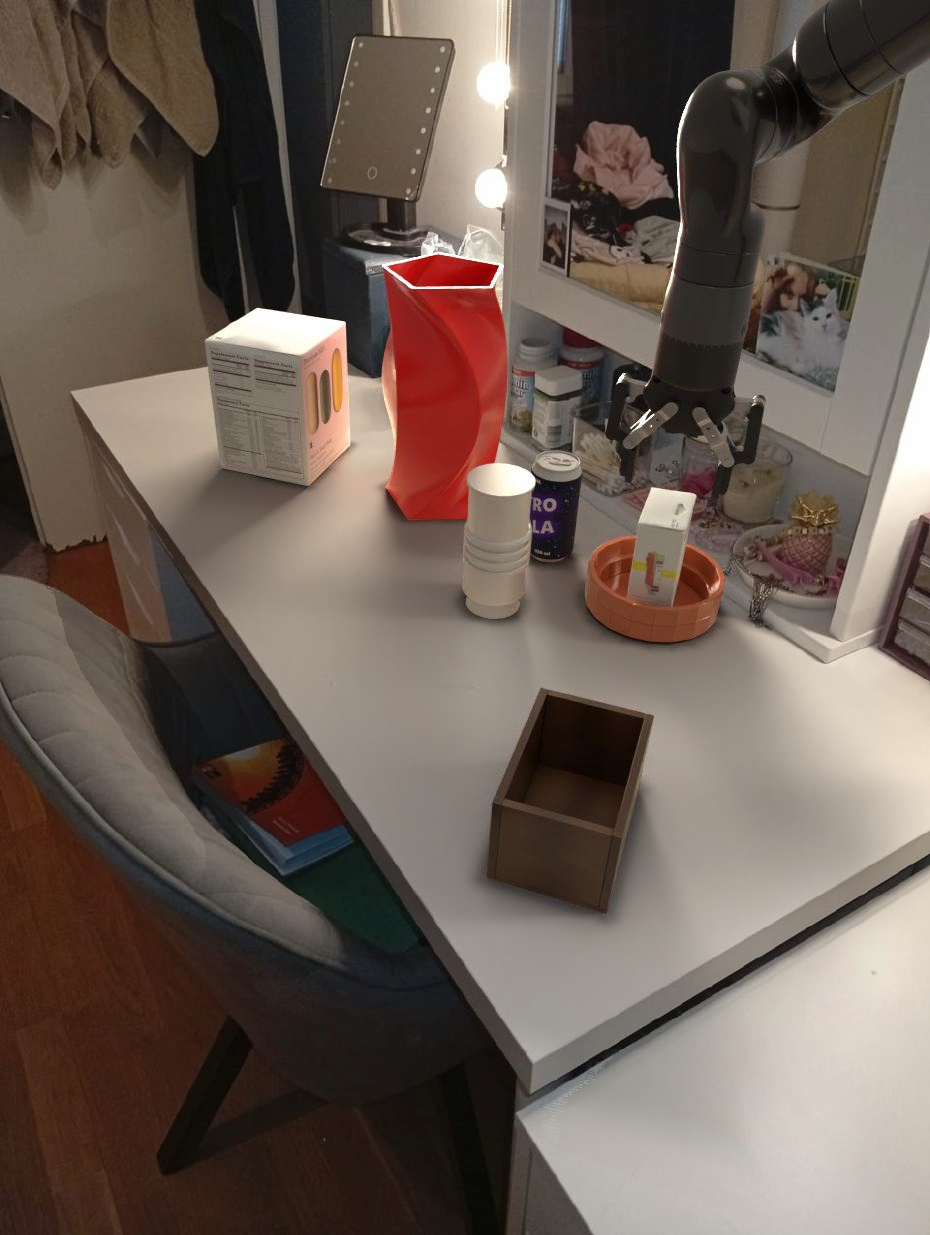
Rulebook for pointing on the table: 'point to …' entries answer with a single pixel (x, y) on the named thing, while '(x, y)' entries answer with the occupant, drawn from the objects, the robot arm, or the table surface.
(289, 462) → the supplement box
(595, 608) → the bowl
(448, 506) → the vase
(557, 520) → the beverage can
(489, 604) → the white ribbed cup
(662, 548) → the ink box
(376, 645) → the table surface
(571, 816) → the holder
